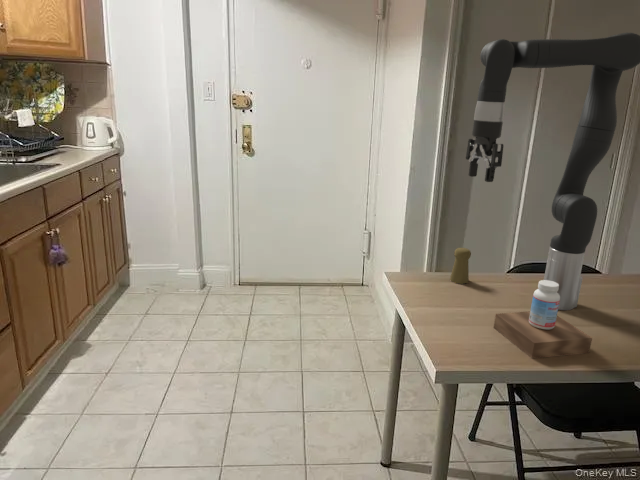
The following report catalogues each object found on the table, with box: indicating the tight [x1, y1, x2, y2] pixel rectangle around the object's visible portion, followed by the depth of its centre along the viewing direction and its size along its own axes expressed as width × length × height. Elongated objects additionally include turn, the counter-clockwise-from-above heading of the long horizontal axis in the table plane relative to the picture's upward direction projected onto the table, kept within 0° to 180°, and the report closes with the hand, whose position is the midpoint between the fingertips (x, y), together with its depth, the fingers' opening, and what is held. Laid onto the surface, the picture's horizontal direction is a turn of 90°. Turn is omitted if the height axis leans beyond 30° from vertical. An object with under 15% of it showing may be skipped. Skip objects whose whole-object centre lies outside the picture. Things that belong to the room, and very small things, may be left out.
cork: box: [449, 247, 472, 285], centre depth 165 cm, size 6×6×11 cm
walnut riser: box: [493, 310, 593, 359], centre depth 128 cm, size 16×16×4 cm
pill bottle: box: [529, 279, 560, 330], centre depth 126 cm, size 6×6×11 cm
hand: (480, 178), depth 142 cm, fingers open, 8 cm apart
